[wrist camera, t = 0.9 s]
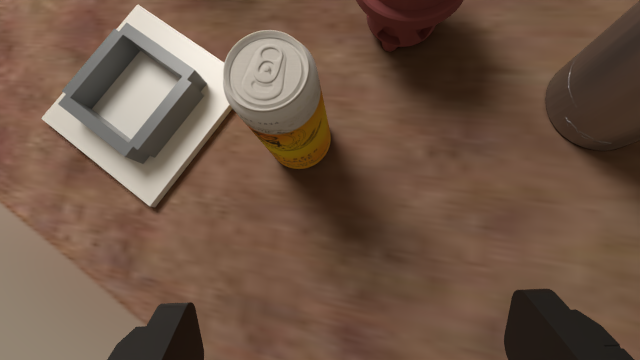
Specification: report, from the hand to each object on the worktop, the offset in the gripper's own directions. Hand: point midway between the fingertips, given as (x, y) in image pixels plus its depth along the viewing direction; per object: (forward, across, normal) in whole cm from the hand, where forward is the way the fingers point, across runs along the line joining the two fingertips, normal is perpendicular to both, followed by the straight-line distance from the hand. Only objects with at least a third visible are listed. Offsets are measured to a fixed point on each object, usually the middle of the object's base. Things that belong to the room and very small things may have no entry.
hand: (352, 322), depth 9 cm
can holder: (+32, +19, 0) cm, 37 cm away
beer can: (+28, +2, +3) cm, 29 cm away
